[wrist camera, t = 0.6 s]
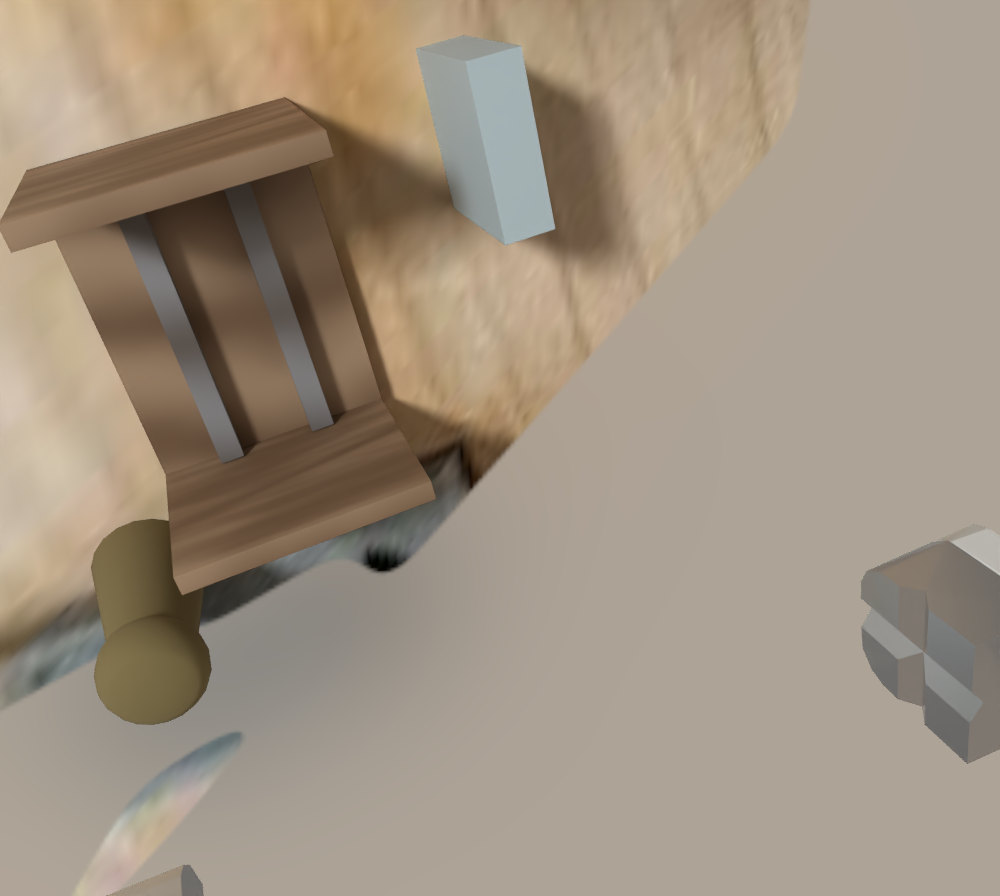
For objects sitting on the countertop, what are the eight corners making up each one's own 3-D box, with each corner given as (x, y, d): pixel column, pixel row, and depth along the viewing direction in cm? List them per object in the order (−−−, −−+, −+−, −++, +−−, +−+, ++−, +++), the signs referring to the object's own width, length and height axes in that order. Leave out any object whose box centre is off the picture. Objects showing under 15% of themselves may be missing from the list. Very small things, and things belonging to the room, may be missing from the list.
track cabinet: (26, 170, 42) (-3, 225, 33) (284, 97, 44) (325, 129, 35) (172, 481, 51) (182, 595, 41) (382, 407, 53) (436, 498, 44)
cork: (209, 518, 52) (227, 635, 43) (203, 609, 55) (219, 739, 45) (91, 519, 50) (83, 643, 41) (90, 614, 52) (82, 751, 43)
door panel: (415, 48, 46) (465, 61, 39) (463, 35, 46) (521, 46, 39) (454, 208, 50) (505, 245, 43) (497, 194, 50) (555, 229, 43)
